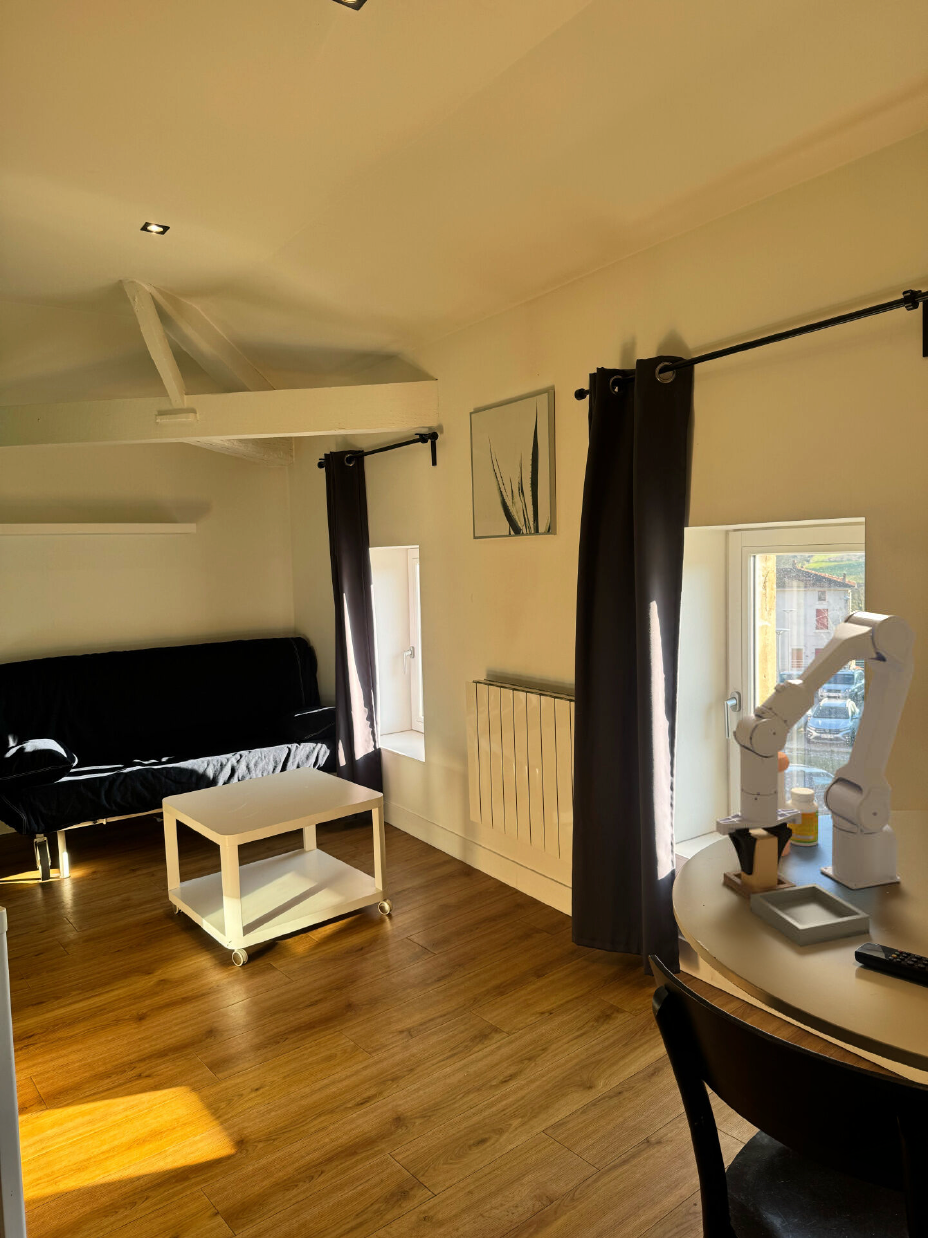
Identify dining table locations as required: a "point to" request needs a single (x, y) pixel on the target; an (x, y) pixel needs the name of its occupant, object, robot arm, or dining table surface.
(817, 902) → the tray
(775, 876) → the tan rectangular block
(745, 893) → the socket collar
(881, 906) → the dining table surface
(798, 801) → the supplement bottle
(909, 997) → the dining table surface
